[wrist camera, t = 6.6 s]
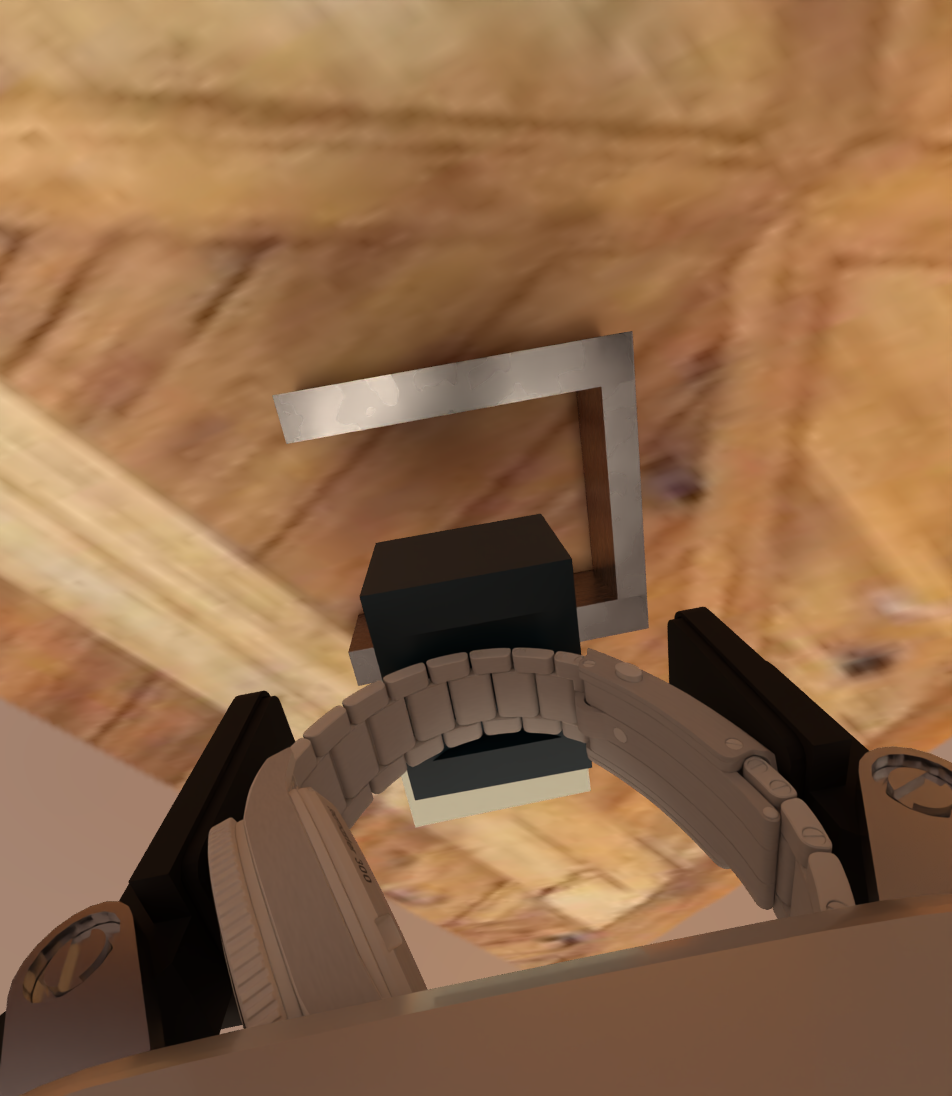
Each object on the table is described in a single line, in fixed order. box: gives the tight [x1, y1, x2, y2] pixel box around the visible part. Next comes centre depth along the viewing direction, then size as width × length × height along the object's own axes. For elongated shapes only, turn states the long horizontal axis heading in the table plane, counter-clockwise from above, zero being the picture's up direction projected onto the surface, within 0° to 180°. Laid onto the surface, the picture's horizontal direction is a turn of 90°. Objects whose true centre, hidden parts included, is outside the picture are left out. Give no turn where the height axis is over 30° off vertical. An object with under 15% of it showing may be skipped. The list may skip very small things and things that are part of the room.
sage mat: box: [382, 681, 591, 827], centre depth 32 cm, size 12×12×1 cm
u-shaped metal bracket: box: [272, 331, 649, 686], centre depth 25 cm, size 14×15×4 cm
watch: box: [208, 514, 855, 1029], centre depth 9 cm, size 6×8×11 cm
